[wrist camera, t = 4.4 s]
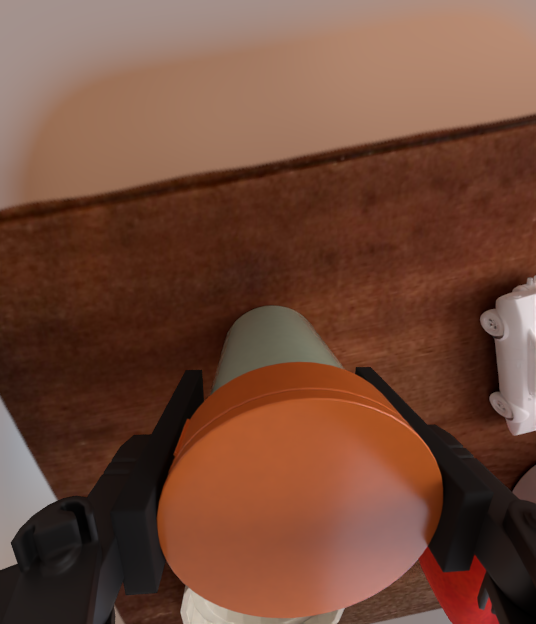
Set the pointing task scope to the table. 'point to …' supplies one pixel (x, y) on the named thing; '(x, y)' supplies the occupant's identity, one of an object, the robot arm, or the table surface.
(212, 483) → the lid
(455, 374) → the table surface
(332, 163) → the table surface
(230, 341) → the jar
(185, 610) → the dish
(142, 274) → the table surface
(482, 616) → the apple
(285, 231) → the table surface
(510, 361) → the toy car
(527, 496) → the container
